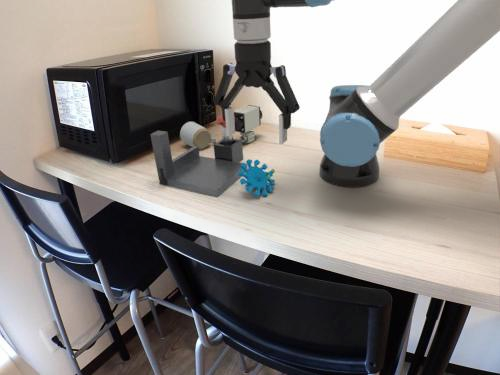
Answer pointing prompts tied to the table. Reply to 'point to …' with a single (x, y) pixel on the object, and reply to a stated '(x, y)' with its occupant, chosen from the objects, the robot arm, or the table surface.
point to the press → (197, 166)
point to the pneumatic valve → (247, 122)
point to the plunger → (226, 139)
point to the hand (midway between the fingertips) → (256, 138)
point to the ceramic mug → (196, 135)
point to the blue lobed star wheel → (256, 177)
